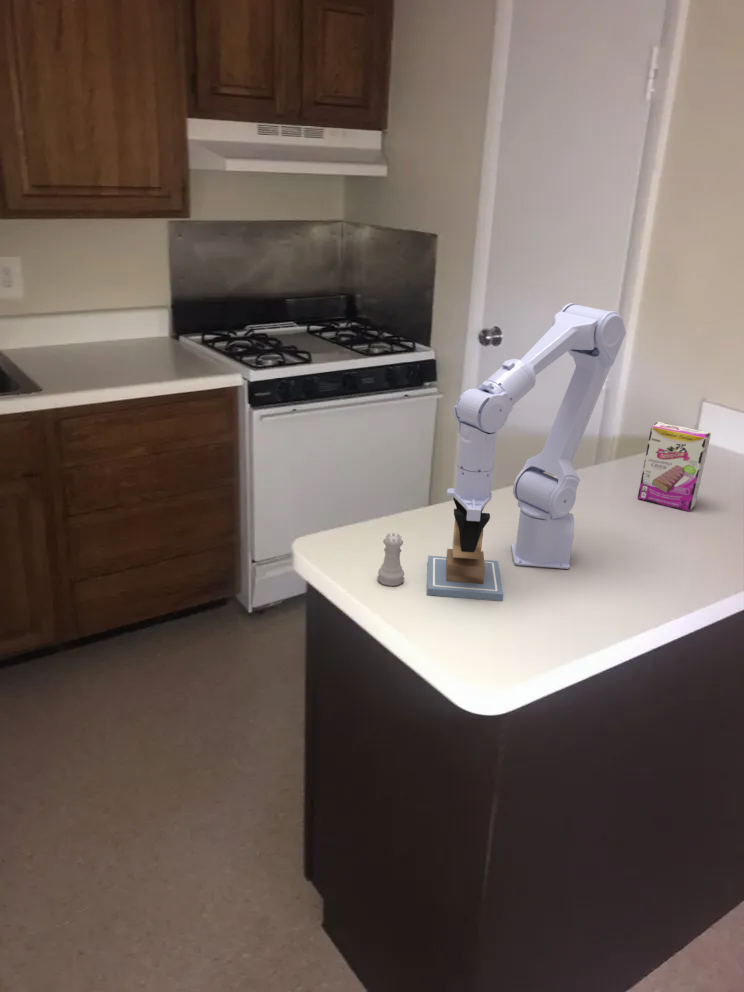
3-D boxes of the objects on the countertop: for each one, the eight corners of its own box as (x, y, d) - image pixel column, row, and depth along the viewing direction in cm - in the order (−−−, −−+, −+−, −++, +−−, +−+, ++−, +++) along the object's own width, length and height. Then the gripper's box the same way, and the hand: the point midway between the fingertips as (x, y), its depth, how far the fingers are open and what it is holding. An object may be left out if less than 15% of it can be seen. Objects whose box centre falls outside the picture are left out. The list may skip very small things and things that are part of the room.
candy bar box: (636, 500, 175) (649, 425, 169) (642, 493, 179) (656, 420, 173) (690, 513, 170) (706, 437, 164) (696, 505, 174) (711, 431, 168)
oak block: (479, 547, 137) (481, 520, 135) (480, 559, 133) (483, 531, 131) (452, 545, 137) (455, 518, 135) (452, 557, 133) (455, 529, 131)
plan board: (497, 567, 142) (500, 545, 141) (502, 601, 131) (505, 577, 130) (427, 561, 143) (429, 539, 141) (426, 595, 132) (428, 571, 130)
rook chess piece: (401, 588, 133) (405, 543, 130) (374, 584, 134) (377, 540, 131) (406, 576, 137) (409, 532, 135) (380, 572, 138) (382, 529, 135)
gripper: (449, 449, 136) (442, 524, 142) (450, 480, 123) (442, 562, 128) (491, 452, 136) (483, 527, 141) (497, 483, 123) (488, 565, 128)
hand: (467, 544), depth 135 cm, fingers closed on oak block, 4 cm apart
